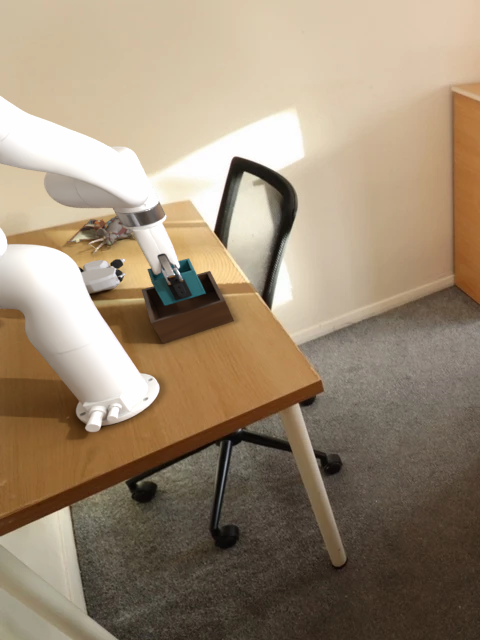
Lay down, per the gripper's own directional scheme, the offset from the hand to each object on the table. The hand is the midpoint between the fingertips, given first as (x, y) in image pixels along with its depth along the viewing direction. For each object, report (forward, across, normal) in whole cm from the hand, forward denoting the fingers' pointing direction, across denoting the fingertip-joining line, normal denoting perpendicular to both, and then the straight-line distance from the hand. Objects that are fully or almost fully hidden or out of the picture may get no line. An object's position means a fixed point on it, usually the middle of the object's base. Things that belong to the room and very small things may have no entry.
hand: (180, 289), depth 104 cm
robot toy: (+7, -27, -16) cm, 33 cm away
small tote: (+1, 0, 0) cm, 1 cm away
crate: (+7, 0, 0) cm, 7 cm away
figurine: (+8, -54, -12) cm, 56 cm away
